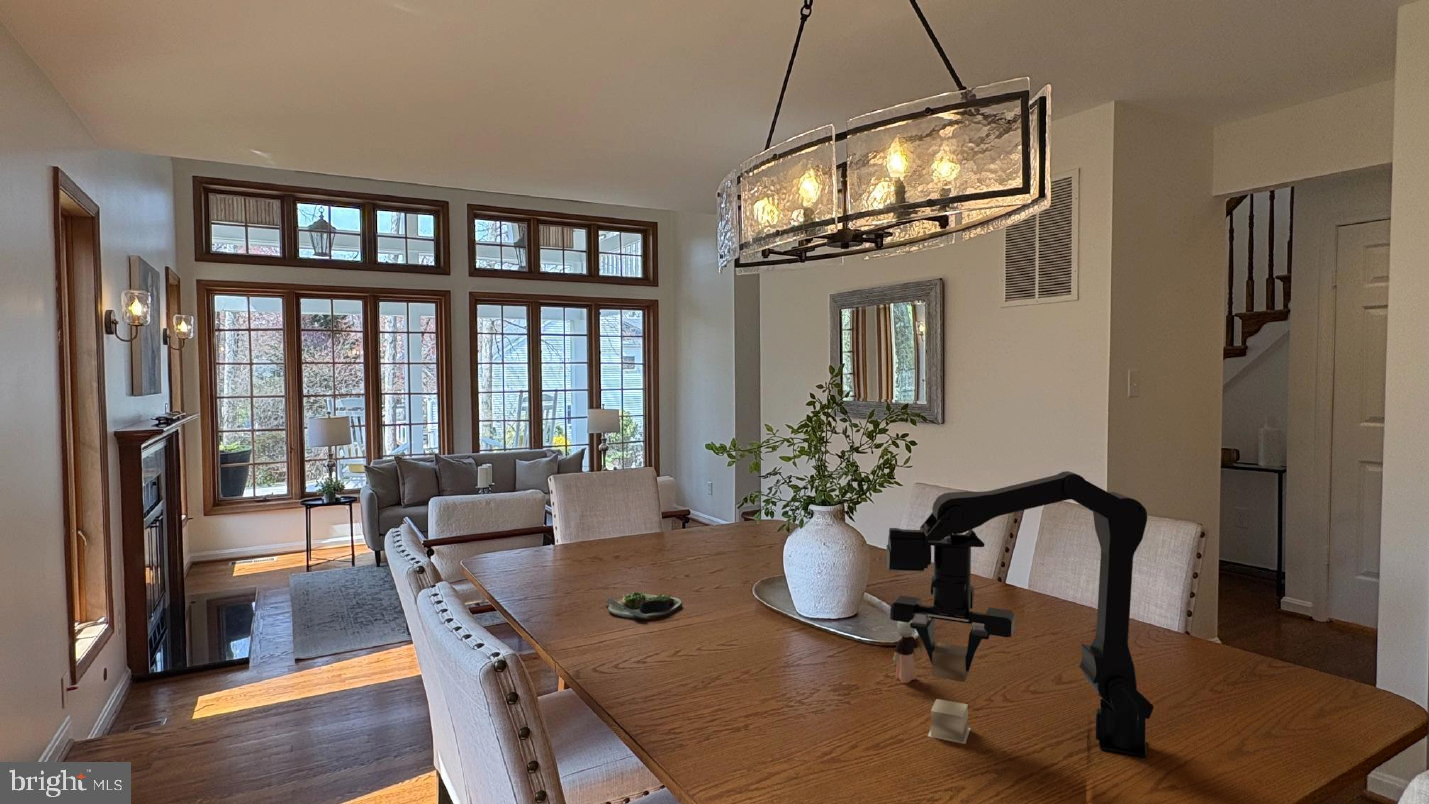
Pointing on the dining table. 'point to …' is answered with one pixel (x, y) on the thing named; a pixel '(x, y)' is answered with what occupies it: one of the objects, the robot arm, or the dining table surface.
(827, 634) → the dining table surface
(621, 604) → the salad plate
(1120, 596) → the robot arm
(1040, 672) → the dining table surface
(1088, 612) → the dining table surface
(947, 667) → the walnut block
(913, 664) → the grandmother figurine
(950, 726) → the maple block
